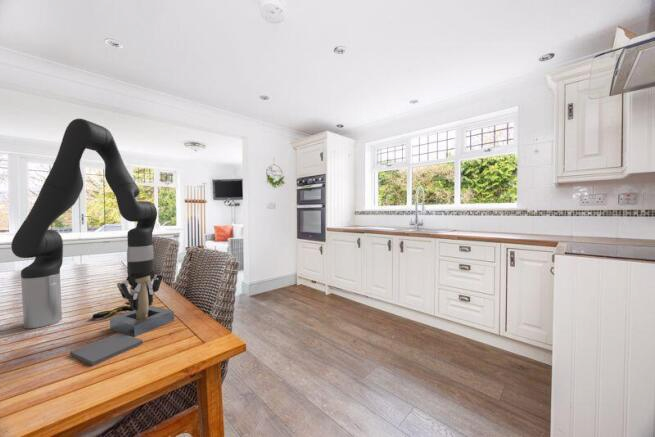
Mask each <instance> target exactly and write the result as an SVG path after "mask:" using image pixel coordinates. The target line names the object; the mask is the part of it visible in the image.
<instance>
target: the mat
mask: <svg viewBox="0 0 655 437" xmlns="http://www.w3.org/2000/svg"><path fill="white" fill-rule="evenodd" d="M143 343H144V340H143V339H140V338H137V337H134V336H131V335H128V334H125V333H122V332H118V333H115V334H113V335H110V336H108V337H105V338H101V339H100V340H97V341H95V342H92V343H88V344H86V345H83V346H81V347H78V348H75V349H73V350H70V351H69V355H70V356H71V357H73V358H76V359H78V360H80V361H81V362H84V363H86V364H89V365H90V366H96V365H98V364H100V363H102V362H105V361H107V360H109V359H111V358H113V357H115V356H116V357H117V356H118V355H120V354H122V353H125V352H127V351H129V350H131V349H134V348H136V347H138V346H141V345H143Z"/></svg>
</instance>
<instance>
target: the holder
mask: <svg viewBox="0 0 655 437" xmlns="http://www.w3.org/2000/svg"><path fill="white" fill-rule="evenodd" d="M147 314H148V317H147V318H144V319H141V320H137V319H136V312H135V310H134V311H126V312H124V313H122V314H119V315H116V316H113V317H110V318H109V329H110V330H114V331H117V332H118V333H123V334H126V335H129V336H132V337H134V338H136V337H137V336H140V335H142V334H144V333H147V332H149V331H151V330H154V329H157V328H160V327H162V326H164V325H167V324H169V323H171V322H174V321H175V311H174V310H171V309H167V308H162V307H158V306H154V305H150V306H149V308H148V313H147Z"/></svg>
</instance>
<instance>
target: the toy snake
mask: <svg viewBox="0 0 655 437" xmlns="http://www.w3.org/2000/svg"><path fill="white" fill-rule="evenodd" d="M124 304H125V305H123V306H118V307H116V308H113V309H112V310H103V311H99V312H96V313H93V315H92V317H91V318H92V319H93V320H97V319H102V318H107V317H111V316H113V315H116V314H117V313H121V312H131V311H134V310H132V309H131V308H130V299H127V301H126V302H124Z"/></svg>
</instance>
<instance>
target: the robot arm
mask: <svg viewBox="0 0 655 437" xmlns="http://www.w3.org/2000/svg"><path fill="white" fill-rule="evenodd" d="M62 136H63V137H62V140H61V142H60V146H59V149H58V151H57V155H56V158H55V160H54V162H53V164H52V166H51V169H50V171H49V173H48V174H47V177H46V178H45V180H44V183H43V185H42V186H41V188H40V190H39V193H38V196H37V198H36V199H35V202H34V203H33V206H32V207H31V209H30V211H29V213H28V215H27V216H26V218H25V219H24V221H23V222H22V224H21V225H20V227H19V228H18V230H17V231H16V232H15V234H14V236H13V238H12V241H11V246H10V247H11V251H12V253H13V254H14V255H15V257H17V258H20V259H21V258H22V259H29V258H31V259H32V258H34V260H33V262H32V263H30V264H29V265H27V266H25V267H24V268H23V269H21V271H20V277H21V278H20V281H21V299H22V302H21V303H22V323H23V328H24V329H37V328H42V327H47V326H50V325H53V324H57V323H58V322H60V321H62V320H63V313H62V310H63V309H62V288H61V267H62V265H63V261H64V260H63V256H64V255H63V254H64V242H63V238H62V236H61V234H60V233H59V232H58V231H56V230H54V229H49V228H50V226H51V225H52V224H53V223H54V221H56V220H57V219H58V218H59V217H61V216H62V215H63V214H65V213H66V212H67V211H68V210H70V209H71V208H72V207H74V205H75V204H76V203H77V201H78V198H80V195H81V194H82V191H83V189H84V179H83V174H82V170H81V165H80V164H81V160H82V157H83V154H84V153H85V150H86V149H87V150H89V151H94V152H96V153H97V154H98V156H100V158H101V159H102V160H103V162H104V178H105V180H106V182H107V185H108V186H109V188H110V190H111V191H112V193H113V194H114V195H115V199H116V204H117V206H118V211H119V213H120V216H121V217H122V218H123V219H125V220H126V221H128V222H131V223H132V222H133V223H135V222H137V223H136V225H135V227H134V228H131V229H129V230H128V232H127V234H126V235H127V236H126V237H127V251H126V270H127V271H126V272H127V277H126V279H125V280H124V281H122V282H118V283H117V284H116V286H117V289H118V290H119V292H120V294H121V296H122V299H125V300H129V299H130V305H129V306H130V308H131V309H132V310H137V309H138V299H137V295H138V292H139V291H140V287H141V284H142V283H136V282H135V279H136V278H141V277H145V276H150V280H149V281H147V289H148V300H149V301H148V302H149V306H150V305H151V306H153V305H152V304H153V302H154V296H153V295H154V293H157V292H158V291H159V290H160V286H161V283H162V280H163V274H157V273H156V274H155V272H154V270H155V259H154V258H155V257H154V256H155V255H154V254H155V253H154V246H153V241H154V240H153V232H154V229H155V225H156V222H157V217H158V210H157V207H156V205H155V204H154V203H153V202H151V201H146V200H145V201H143V200H137V199H136V198H137V197H139V195H140V189H139V187H138V185H137V183H136V181H135V180H134V179H133V177H132V175H131V174H130V172H129V171H128V168H127V167H126V165H125V163H124V160H123V158H122V155H121V153H120V151H119V148H118V146H117V143H116V140H115V139H114V135H113V134H112V132H111V131H110V130H109V129H108V128H106V127H105V126H103V125H100V124H97V123H94V122H92V121H90V120H87V119H84V118H75V119H73V120H72V121H70V122H69V123H68V124H67V127H66V128H65V131H64V134H63V135H62ZM152 281H153V282H152ZM129 286H130V288H129V289H128V287H129Z"/></svg>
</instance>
